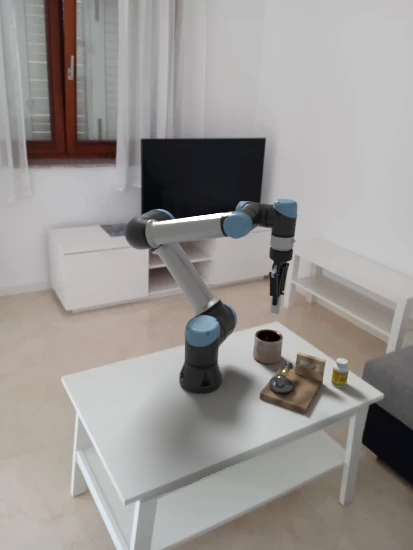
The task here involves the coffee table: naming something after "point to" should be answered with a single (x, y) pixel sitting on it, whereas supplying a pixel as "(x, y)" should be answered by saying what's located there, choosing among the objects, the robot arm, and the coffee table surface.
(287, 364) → the ball knob lever
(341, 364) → the supplement bottle
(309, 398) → the stand
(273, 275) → the robot arm
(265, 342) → the planter
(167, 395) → the coffee table surface
